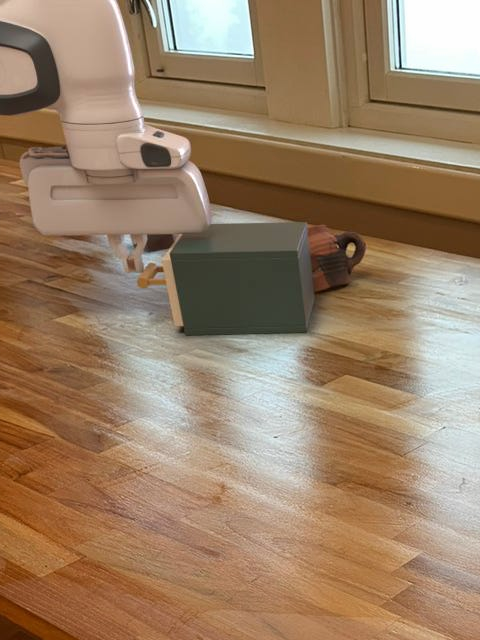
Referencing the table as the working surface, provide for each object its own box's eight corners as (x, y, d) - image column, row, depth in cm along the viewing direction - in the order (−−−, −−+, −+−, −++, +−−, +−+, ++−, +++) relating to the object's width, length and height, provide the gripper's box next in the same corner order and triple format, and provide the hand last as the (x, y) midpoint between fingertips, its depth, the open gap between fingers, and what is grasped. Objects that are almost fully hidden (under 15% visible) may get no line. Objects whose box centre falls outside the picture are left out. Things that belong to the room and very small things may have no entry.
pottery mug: (295, 300, 127) (269, 238, 126) (296, 311, 137) (271, 253, 135) (379, 267, 129) (354, 206, 127) (374, 280, 138) (350, 223, 136)
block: (148, 252, 144) (132, 172, 137) (133, 246, 147) (116, 167, 140) (175, 246, 147) (160, 167, 140) (159, 240, 149) (144, 163, 142)
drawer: (139, 327, 116) (124, 260, 111) (158, 296, 125) (146, 233, 120) (287, 324, 117) (278, 257, 112) (296, 293, 126) (288, 231, 121)
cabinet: (185, 335, 116) (169, 252, 110) (203, 301, 126) (189, 224, 120) (306, 332, 117) (297, 250, 111) (315, 298, 127) (306, 221, 121)
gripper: (5, 153, 106) (40, 281, 114) (193, 151, 107) (214, 278, 115) (23, 141, 111) (55, 265, 119) (203, 140, 112) (222, 262, 120)
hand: (135, 271), depth 117 cm, fingers closed
